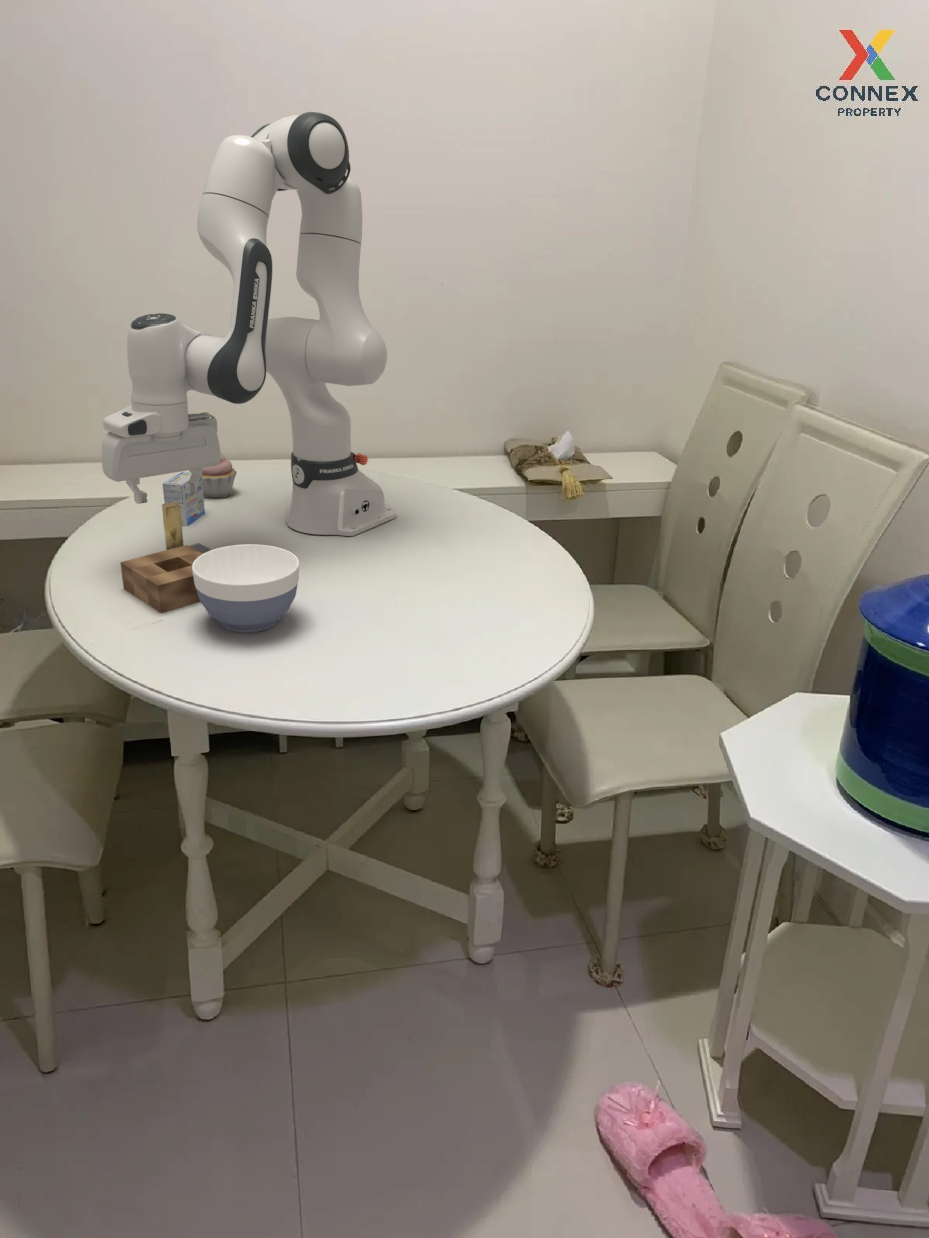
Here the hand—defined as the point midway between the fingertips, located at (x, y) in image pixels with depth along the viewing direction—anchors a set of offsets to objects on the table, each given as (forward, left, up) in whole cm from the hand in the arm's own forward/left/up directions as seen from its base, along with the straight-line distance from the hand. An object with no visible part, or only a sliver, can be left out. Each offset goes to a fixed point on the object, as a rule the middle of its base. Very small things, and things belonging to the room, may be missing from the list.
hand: (166, 498), depth 158 cm
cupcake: (-26, -27, -12) cm, 39 cm away
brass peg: (-1, 0, -12) cm, 11 cm away
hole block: (+6, +12, -12) cm, 18 cm away
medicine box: (-13, -17, -12) cm, 24 cm away
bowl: (+3, +28, -12) cm, 31 cm away
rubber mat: (-3, 0, -12) cm, 12 cm away
